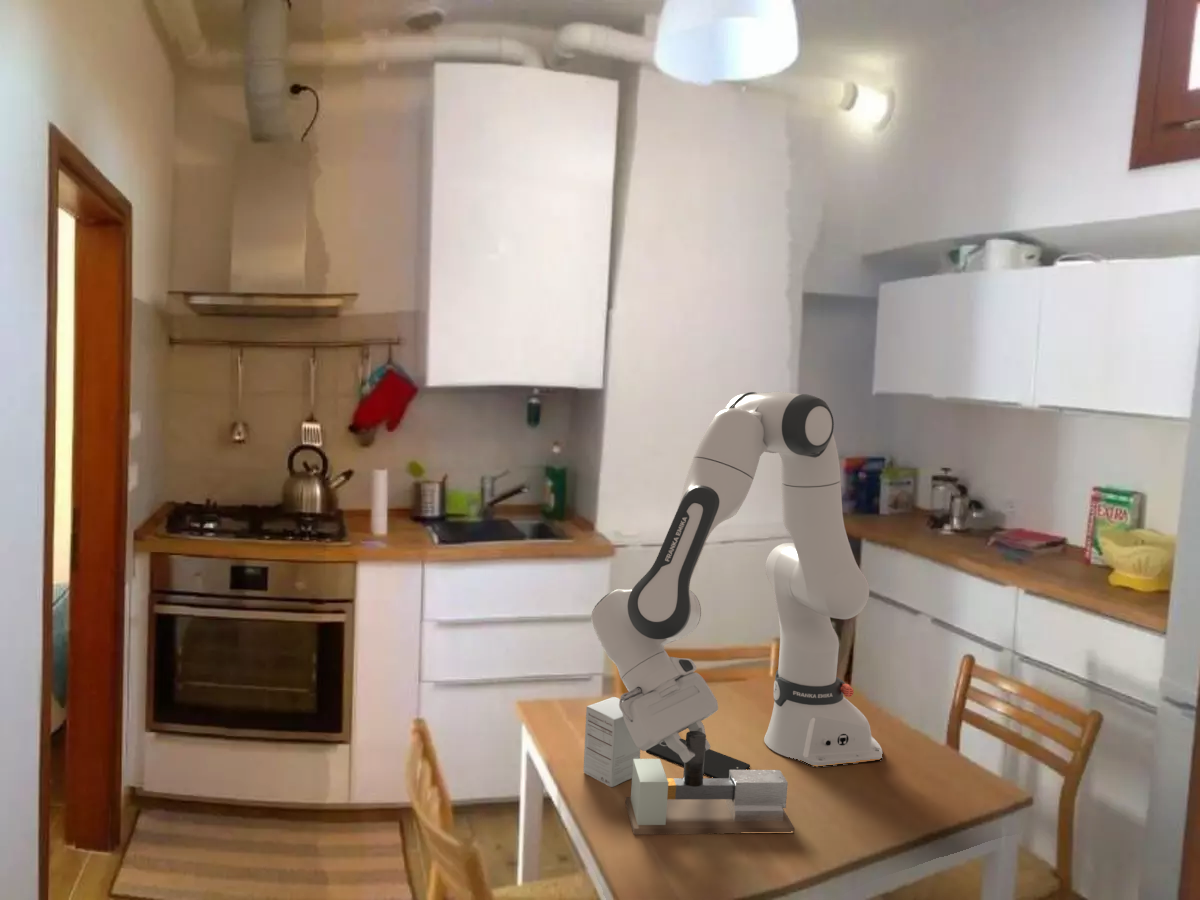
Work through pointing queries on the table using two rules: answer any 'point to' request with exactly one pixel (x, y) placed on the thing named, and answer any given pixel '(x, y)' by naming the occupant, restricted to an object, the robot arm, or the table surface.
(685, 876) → the table surface
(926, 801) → the table surface
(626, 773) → the supplement box
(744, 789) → the sleeve
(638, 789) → the socket
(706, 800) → the base board
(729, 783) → the slide bolt
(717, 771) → the cell phone
